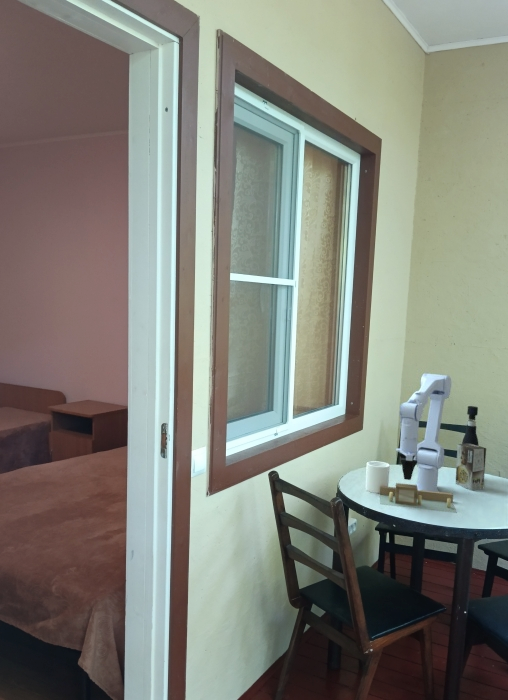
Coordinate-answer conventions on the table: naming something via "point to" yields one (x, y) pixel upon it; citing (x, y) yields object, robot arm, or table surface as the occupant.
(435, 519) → the table surface
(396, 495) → the frame
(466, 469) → the coffee box
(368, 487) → the mug
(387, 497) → the board
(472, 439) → the wine bottle
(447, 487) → the table surface
